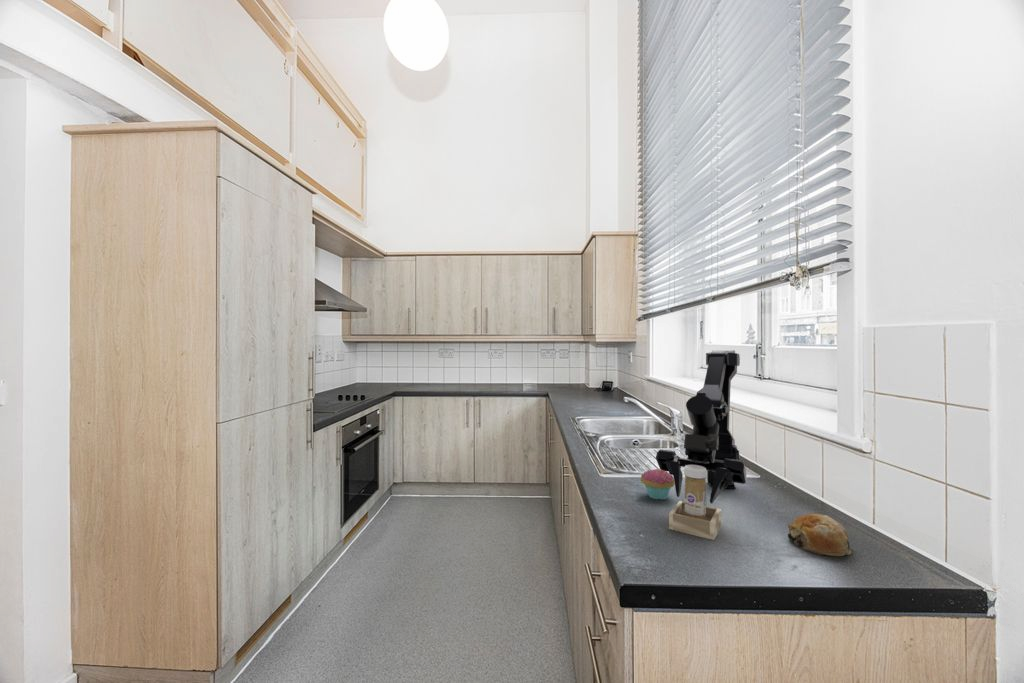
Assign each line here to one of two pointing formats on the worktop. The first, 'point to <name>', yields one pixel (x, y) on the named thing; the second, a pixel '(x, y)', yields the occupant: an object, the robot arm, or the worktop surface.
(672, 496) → the worktop surface
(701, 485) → the sprinkles bottle
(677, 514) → the box
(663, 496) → the cupcake
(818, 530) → the bread roll
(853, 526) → the worktop surface
